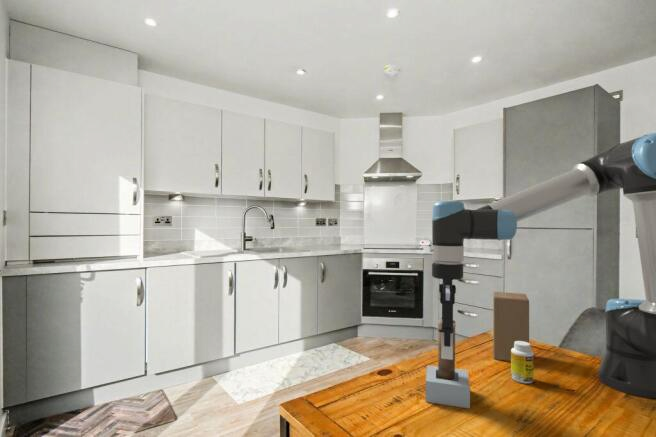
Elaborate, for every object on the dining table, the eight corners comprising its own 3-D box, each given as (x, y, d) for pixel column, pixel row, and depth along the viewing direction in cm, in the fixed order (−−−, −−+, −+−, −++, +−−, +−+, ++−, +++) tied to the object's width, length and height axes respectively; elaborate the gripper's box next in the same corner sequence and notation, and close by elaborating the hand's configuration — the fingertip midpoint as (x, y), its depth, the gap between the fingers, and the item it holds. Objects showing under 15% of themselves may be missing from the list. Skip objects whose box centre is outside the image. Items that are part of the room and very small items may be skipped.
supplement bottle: (527, 386, 95) (527, 347, 95) (506, 378, 99) (506, 341, 99) (537, 381, 98) (537, 344, 98) (517, 374, 102) (517, 338, 102)
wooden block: (526, 354, 118) (526, 293, 118) (529, 365, 109) (529, 299, 109) (493, 349, 122) (493, 291, 122) (493, 359, 113) (493, 296, 113)
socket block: (466, 389, 93) (467, 370, 93) (469, 408, 83) (469, 387, 83) (427, 383, 96) (427, 365, 96) (425, 401, 86) (425, 380, 86)
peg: (454, 374, 91) (455, 319, 91) (455, 381, 87) (455, 324, 87) (438, 372, 92) (438, 318, 92) (437, 378, 88) (438, 322, 88)
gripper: (432, 258, 99) (432, 342, 99) (431, 265, 83) (430, 366, 83) (461, 259, 97) (460, 345, 96) (465, 267, 80) (464, 370, 80)
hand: (446, 354), depth 89 cm, fingers closed on peg, 4 cm apart
